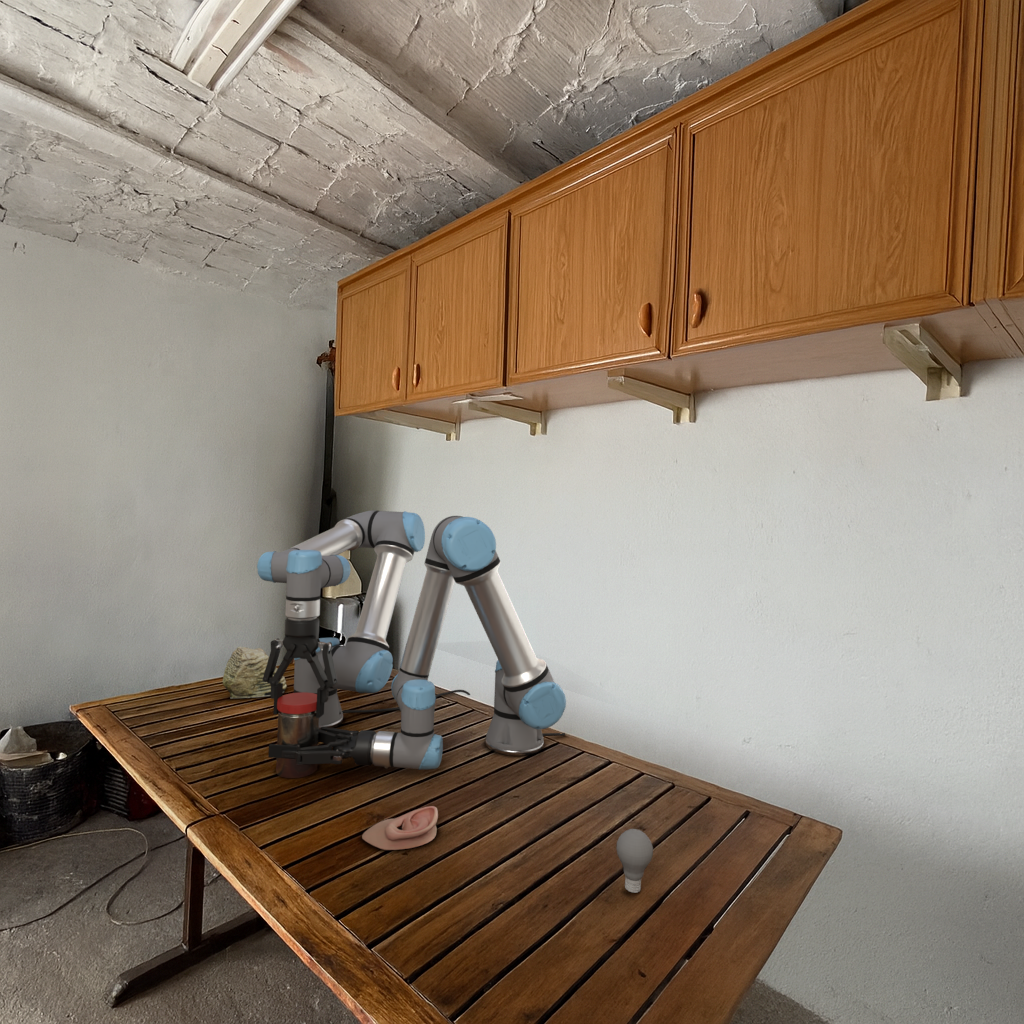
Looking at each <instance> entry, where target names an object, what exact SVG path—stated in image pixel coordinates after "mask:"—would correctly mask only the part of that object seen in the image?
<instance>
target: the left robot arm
mask: <svg viewBox="0 0 1024 1024" xmlns="http://www.w3.org/2000/svg"><path fill="white" fill-rule="evenodd" d="M425 543H426V529H425V524H424V521H423V519H422V517H421V515H419V514H418V513H415V512H411V511H410V512H408V511H406V510H404V511H392V510H391V511H390V510H375V509H373V510H367V511H362V512H359V513H356V514H352V515H351V516H348V517H345V518H343V519H340V520H339V521H338V522H337V523H336V524H335V525H334V526H333V527H331V528H330V529H328V530H326V531H323V532H321V533H319V534H317V535H314V536H313V537H311V538H309V539H306V540H304V541H301V542H300V543H298V544H296V545H294V546H291V547H290V548H287V549H285V550H283V551H275V550H274V551H266V552H264V553H263V554H261V555H260V557H259V558H258V561H257V564H256V568H257V575H258V577H259V578H260V579H261V580H262V581H265V582H272V583H274V584H275V583H276V584H277V583H278V584H279V583H280V584H286V595H285V613H284V615H285V617H286V618H285V620H284V637H283V638H282V639H281V638H275V639H272V640H271V641H270V652H269V655H268V656H269V659H268V662H267V666H266V669H265V673H264V676H263V681H264V682H268V683H270V685H271V696H270V699H273V715H277V716H278V709H277V702H278V698H280V697H281V696H283V694H284V692H283V683H279V682H280V681H281V678H282V676H284V674H286V671H287V669H288V668H289V666H290V664H291V663H292V660H294V672H293V693H301V692H306V693H314V694H317V709H316V718H319V729H321V727H330V728H337V727H339V726H340V725H342V723H343V722H344V714H362V713H363V714H365V713H381V712H382V713H383V712H392V711H401V710H400V708H399V706H397V707H388V708H377V709H376V708H375V709H374V708H373V709H346V710H343V709H342V706H341V702H340V699H339V695H338V690H341V691H349V692H354V693H359V694H376V693H378V692H380V691H381V690H382V689H383V688H384V687H385V685H386V684H387V683H388V681H389V679H390V677H391V675H392V671H393V668H394V667H393V666H394V664H393V662H394V659H393V654H392V653H391V652H390V651H389V649H390V645H389V644H388V642H387V636H388V632H389V628H390V625H391V621H392V617H393V614H394V611H395V606H396V603H397V598H398V594H399V590H400V587H401V582H402V579H403V576H404V572H405V569H406V564H407V563H409V562H411V561H412V560H413V559H414V555H415V553H419V552H420V551H422V550H423V548H424V546H425ZM362 548H363V549H366V548H367V549H373V551H374V552H375V554H376V560H375V563H374V568H373V570H372V574H371V577H370V581H369V584H368V588H367V591H366V594H365V597H364V601H363V605H362V608H361V611H360V615H359V619H358V622H357V625H356V629H355V632H354V633H353V634H351V635H350V636H348V637H347V640H346V643H345V645H340V644H341V643H340V642H341V641H340V639H339V638H337V637H320V636H319V634H320V618H319V616H320V615H321V590H322V589H325V588H330V587H337V586H339V585H342V584H345V582H346V581H348V579H349V578H350V575H351V564H350V562H349V560H348V559H347V558H346V557H345V556H343V555H341V554H342V553H344V552H346V551H348V552H349V551H350V552H351V551H355V550H357V549H362ZM319 637H320V638H319ZM283 647H284V648H285V650H286V652H285V654H284V656H283V659H282V660H281V662H280V664H279V665H278V667H277V664H278V661H279V656H280V654H281V649H282V648H283ZM275 667H276V668H278V669H277V671H276V673H275V674H274V671H275ZM273 674H274V676H273ZM455 693H464V694H466V695H467V696H471V693H470V692H469V691H467V690H464V689H455V690H449V691H446V692H441V693H437V694H435V696H436V698H439V697H441V696H446V695H451V694H455Z"/></svg>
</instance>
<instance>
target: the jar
mask: <svg viewBox="0 0 1024 1024" xmlns="http://www.w3.org/2000/svg"><path fill="white" fill-rule="evenodd" d="M318 731H319V718H316V710H315V711H313V712H309V713H303V714H287V713H282V712H280V711H278V714H277V734H276V735H277V736H276V737H277V739H276V744H278V745H294V746H297V745H300V748H303V747H312V746H319V742H318ZM317 770H318V764H296V759H287V758H276V765H275V773H276V774H277V776H279V777H281V778H285V779H299V778H304V777H305V778H306V777H308V776H311V775H312V774H314V773H315V772H316V771H317Z"/></svg>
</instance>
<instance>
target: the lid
mask: <svg viewBox="0 0 1024 1024" xmlns="http://www.w3.org/2000/svg"><path fill="white" fill-rule="evenodd" d="M277 709H278V711H280V712H282V713H287V714H303V713H309V712H313V711H315V710H316V709H317V694H314V693H306V692H301V693H294V692H292V693H288V694H287V693H286V694H284V695H283V696H281V697H280V698H278V702H277Z"/></svg>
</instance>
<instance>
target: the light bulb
mask: <svg viewBox="0 0 1024 1024" xmlns="http://www.w3.org/2000/svg"><path fill="white" fill-rule="evenodd" d="M615 849H616V854H617V857H618V859H619V861H620V863H621V865H622V867H623V873H624V874H623V875H624V876H625V878H624V888H625V890H627V891H628V892H630V893H634V894H635V893H639V892H640V891H641V889H642V887H641V886H642V879H643V877H644V875H645V871H646V868H647V867H648V866H649V864H650V863H651V861H652V859H653V855H654V847H653V843H652V841H651V838H649V836H648V835H647V834H646V833H645V832H643V831H642V830H641V829H636V828H629V829H627V830H625V831H623V832H622V833H621V834H620V835H619V837H618V839H617V841H616V847H615Z"/></svg>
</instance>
